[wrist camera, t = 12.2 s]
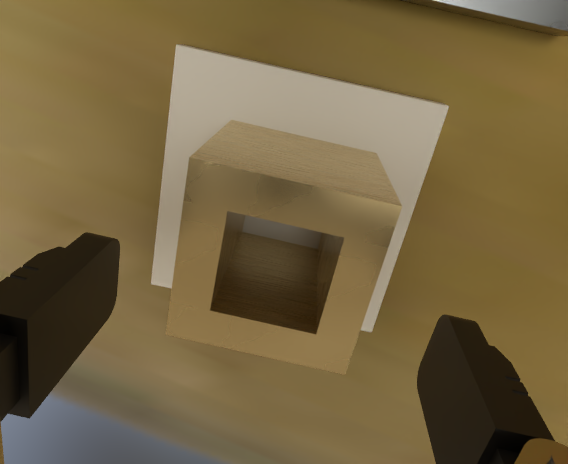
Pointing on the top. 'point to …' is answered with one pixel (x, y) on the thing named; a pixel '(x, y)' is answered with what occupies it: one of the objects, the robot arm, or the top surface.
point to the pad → (297, 120)
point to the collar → (280, 246)
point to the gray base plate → (511, 12)
